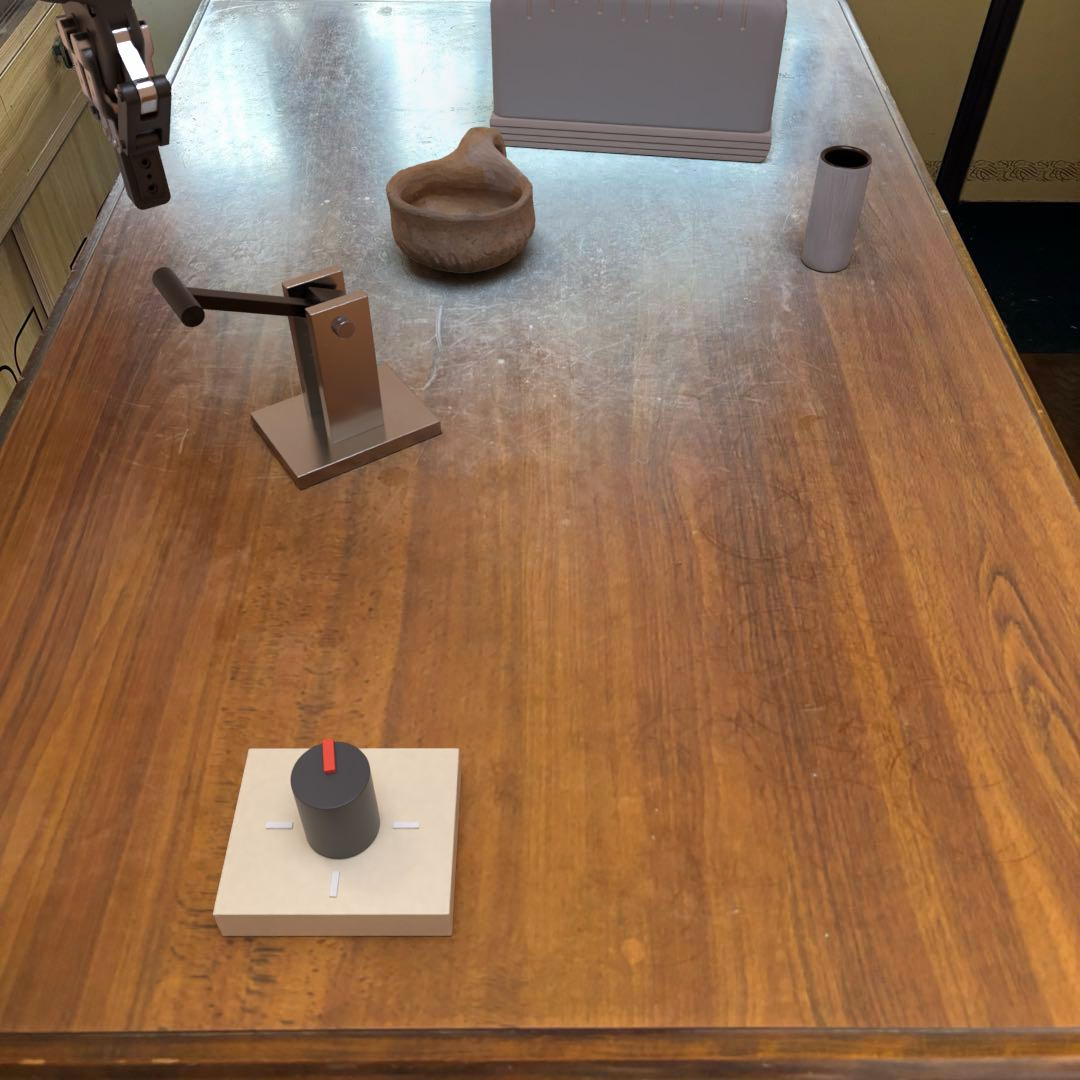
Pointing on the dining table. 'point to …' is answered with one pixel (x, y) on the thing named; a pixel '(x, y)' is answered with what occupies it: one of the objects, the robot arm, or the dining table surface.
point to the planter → (835, 207)
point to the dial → (336, 799)
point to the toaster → (638, 75)
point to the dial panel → (353, 883)
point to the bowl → (463, 207)
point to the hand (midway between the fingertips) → (151, 201)
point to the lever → (232, 300)
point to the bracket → (339, 391)
